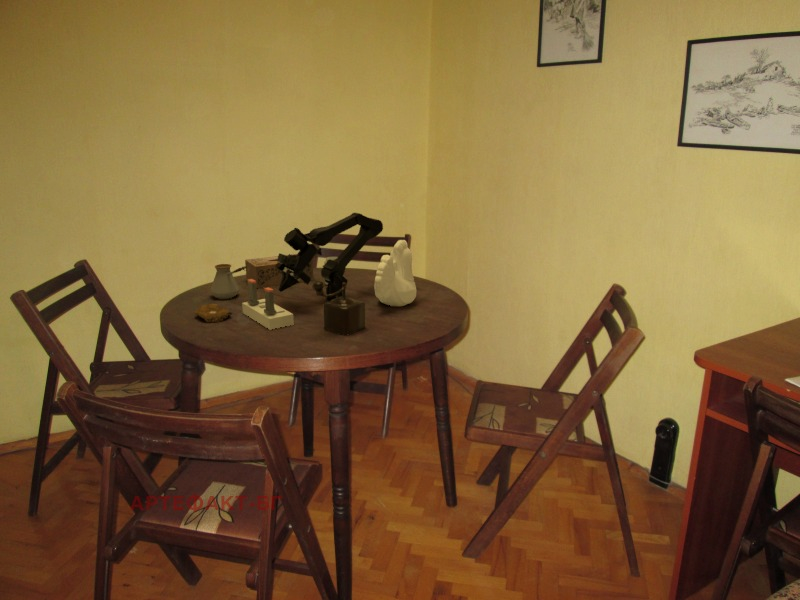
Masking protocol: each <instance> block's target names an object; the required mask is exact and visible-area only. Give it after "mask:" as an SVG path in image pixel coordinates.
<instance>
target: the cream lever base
mask: <svg viewBox="0 0 800 600" xmlns="http://www.w3.org/2000/svg"><path fill="white" fill-rule="evenodd" d="M257 300H258V301H259V304H255V305H250V304H249V303H247V301H246V302H245V301H244V302H242V303H241V305H242V307H241V308H242V314H244V315H245V316H247V317H248V316H249V317H248V318H250V319H252V320H253V321H255V322H256V321H257V322H256V323H258V324H259V323H260V325H262V326H263V327H265V328H266V329H267V328H268V330H269V331H272V329H273V330H276V329H275V328H277V329H281V328H280V327H282V328H286V327H285V326H287V327H291V326H294V325H295V324H294V313H292V312H290V311H288V310H286V309H285V308H283V307H281V306H279V305H278V304H276V303H274V310H276V314H271V315H268V314H266V313H264V310H265V309H266V306H265V298H262V299H257ZM290 325H291V326H290Z"/></svg>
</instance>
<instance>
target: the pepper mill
mask: <svg viewBox="0 0 800 600" xmlns="http://www.w3.org/2000/svg"><path fill="white" fill-rule="evenodd" d="M342 285H343V286H342V288H341V289H340V290H339V291H337V292H335V293H333V294H329V295H326V293H325V292H324V288H325V282H324V281H321V280H316V281H315V282H313V283H312V286H311V287H312V289H313V290H314V291H315V295H316V296H317V297H324V298H327V297H332V296H335V295H336V299H333V300H331V301H330V300H329V301H327V302H325V303H323V329H324V330H326V331H328V330H329V332H331V331H332V332H331V333H334V332H336V333H335V334H338V333H339V334H338V335H342V334H344V335H343V336H348V335H347V334H349V335H351V334H353V332H354V333H356V332H358V330H359V331H361V330H362V329H365V328H366V307H365V306H366V302H364V301H361V300H356V299H353V298H350V297H348V296H347V295H346V289H347V285H346V283H345V282H343V283H342ZM342 291H343V296H341V297H338V295H337V294H339V293H341V292H342ZM360 329H361V330H360ZM355 331H356V332H355ZM350 333H351V334H350Z"/></svg>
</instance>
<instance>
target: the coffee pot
mask: <svg viewBox="0 0 800 600" xmlns="http://www.w3.org/2000/svg"><path fill="white" fill-rule="evenodd" d="M231 267H232V264H231V263H230V264H228V263H219V264H216V265H214V268H215V270H216V273H215V276H214V277H213V281H212V284H211V288H210V290H209V291H210V292H209V293H210V294H211V295H212V296H213V297H215V299H217V298H218V300H230V299H233V298H232V297H234V296H235V297H236V295H239V292H240V291H241V290H240V286H239V285H238V283H237V281H236V279H235V276H233V274H236V273H239V272H241V271H245V270H246V268H247V266H246V265H245V266H241V267H239V268H236V269H235V270H233V271H231ZM248 271H249V270H248ZM235 297H234V298H235ZM229 298H230V299H229Z"/></svg>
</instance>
